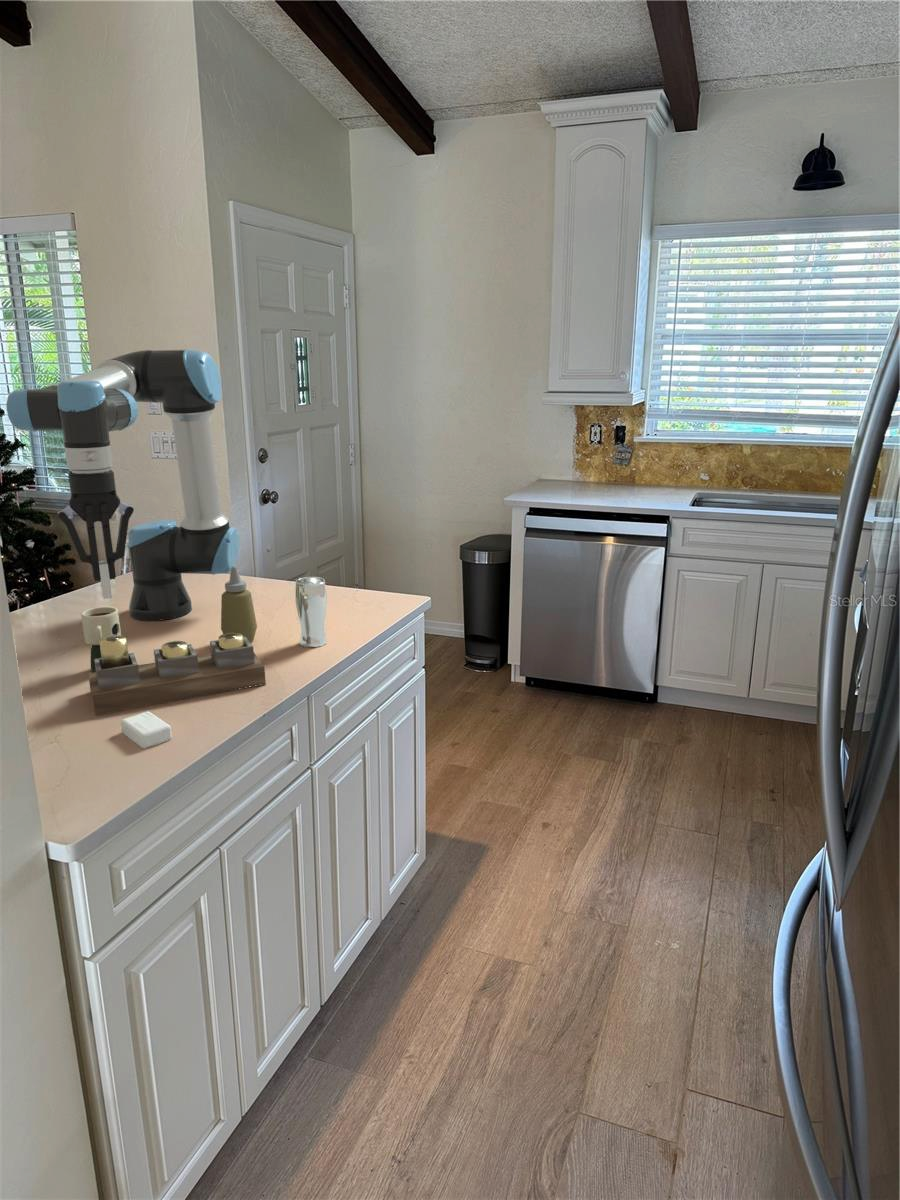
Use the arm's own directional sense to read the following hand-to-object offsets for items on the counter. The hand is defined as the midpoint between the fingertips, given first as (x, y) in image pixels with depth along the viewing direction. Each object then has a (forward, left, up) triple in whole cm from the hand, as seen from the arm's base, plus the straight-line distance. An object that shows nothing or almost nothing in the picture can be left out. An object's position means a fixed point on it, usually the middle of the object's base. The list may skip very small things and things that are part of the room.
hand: (107, 596), depth 154 cm
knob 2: (0, +22, -17) cm, 28 cm away
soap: (+19, +3, -21) cm, 29 cm away
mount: (0, +11, -21) cm, 24 cm away
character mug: (-17, -1, -21) cm, 27 cm away
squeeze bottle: (-21, +28, -21) cm, 41 cm away
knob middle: (0, +11, -17) cm, 20 cm away
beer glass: (-13, +43, -21) cm, 50 cm away
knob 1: (0, 0, -14) cm, 14 cm away
